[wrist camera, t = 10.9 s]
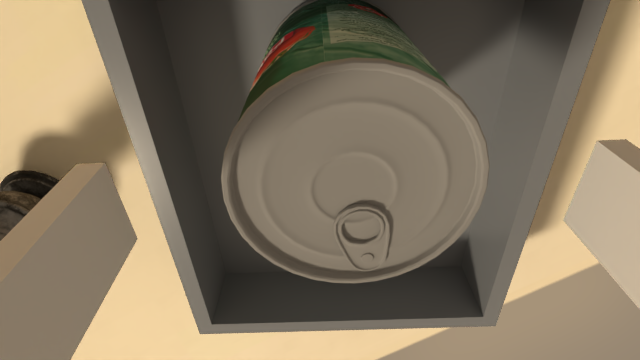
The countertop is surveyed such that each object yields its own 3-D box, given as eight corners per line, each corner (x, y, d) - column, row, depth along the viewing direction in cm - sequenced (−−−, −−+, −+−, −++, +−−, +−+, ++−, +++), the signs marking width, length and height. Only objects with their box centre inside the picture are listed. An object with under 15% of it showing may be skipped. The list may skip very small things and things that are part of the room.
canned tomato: (244, 14, 18) (174, 95, 9) (403, -23, 18) (498, 25, 8) (285, 151, 23) (264, 299, 14) (415, 126, 22) (486, 266, 13)
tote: (131, -46, 18) (67, -39, 13) (551, -66, 18) (633, -66, 13) (218, 272, 30) (199, 334, 25) (468, 265, 30) (495, 325, 25)
